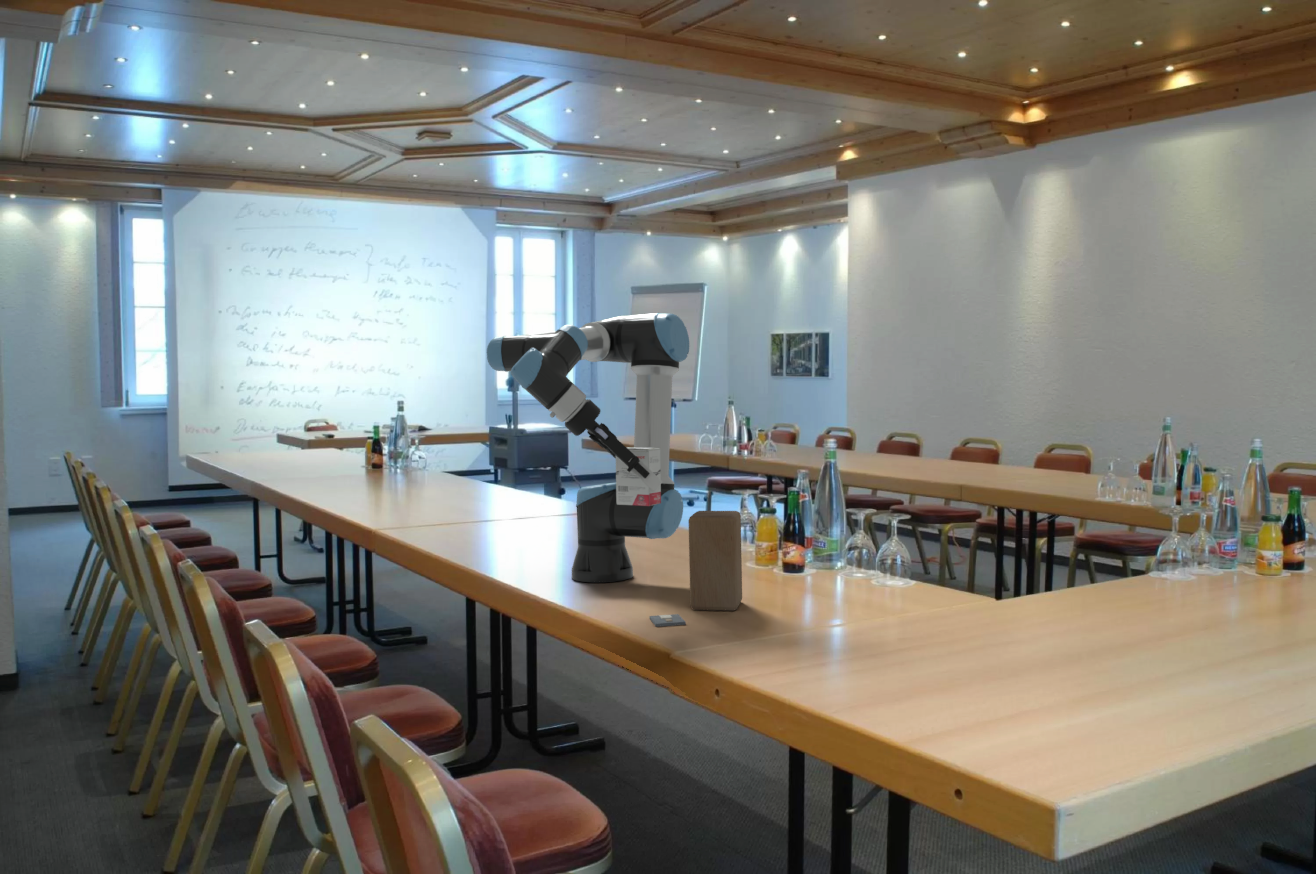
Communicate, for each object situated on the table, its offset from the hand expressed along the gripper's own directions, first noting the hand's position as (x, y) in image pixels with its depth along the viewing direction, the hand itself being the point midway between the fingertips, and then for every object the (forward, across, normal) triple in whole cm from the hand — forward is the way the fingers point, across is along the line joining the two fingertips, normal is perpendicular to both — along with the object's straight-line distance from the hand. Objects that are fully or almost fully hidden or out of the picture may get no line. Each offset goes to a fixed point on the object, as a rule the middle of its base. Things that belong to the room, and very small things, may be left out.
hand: (653, 484), depth 222 cm
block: (+28, 0, -10) cm, 30 cm away
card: (+19, +11, -19) cm, 29 cm away
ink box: (+1, 0, -5) cm, 5 cm away
